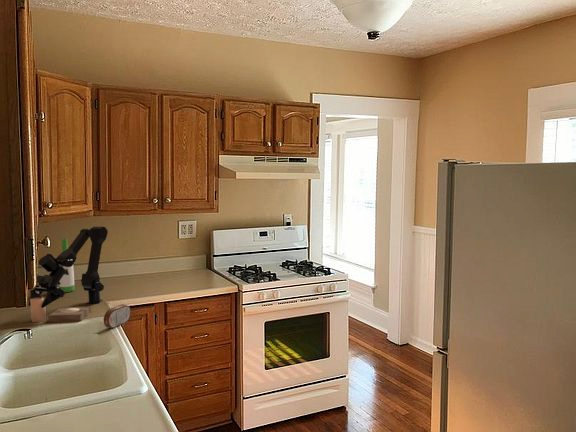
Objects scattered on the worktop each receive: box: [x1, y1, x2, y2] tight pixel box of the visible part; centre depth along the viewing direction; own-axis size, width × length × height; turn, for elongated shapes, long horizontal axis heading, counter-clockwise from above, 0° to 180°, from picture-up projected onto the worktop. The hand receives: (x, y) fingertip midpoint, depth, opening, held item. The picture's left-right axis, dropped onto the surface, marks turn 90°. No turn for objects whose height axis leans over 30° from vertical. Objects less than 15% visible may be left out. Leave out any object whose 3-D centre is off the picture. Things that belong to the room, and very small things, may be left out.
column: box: [29, 296, 47, 323], centre depth 229 cm, size 6×6×10 cm
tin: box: [103, 304, 132, 329], centre depth 219 cm, size 15×3×8 cm, turn 159°
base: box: [47, 305, 92, 323], centre depth 232 cm, size 14×14×3 cm
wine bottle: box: [58, 238, 76, 293], centre depth 284 cm, size 8×8×30 cm
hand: (35, 306), depth 227 cm, fingers open, 8 cm apart
